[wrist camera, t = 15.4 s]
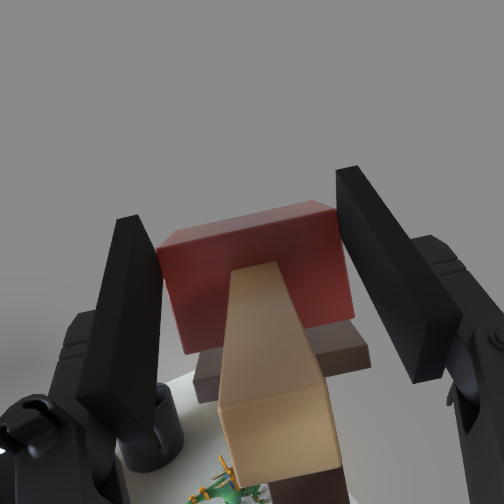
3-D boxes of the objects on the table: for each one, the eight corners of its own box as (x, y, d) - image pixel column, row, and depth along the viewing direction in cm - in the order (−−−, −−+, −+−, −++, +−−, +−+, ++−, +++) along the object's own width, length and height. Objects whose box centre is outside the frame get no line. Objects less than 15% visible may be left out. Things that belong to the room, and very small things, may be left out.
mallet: (111, 589, 6) (24, 361, 6) (197, 314, 19) (174, 230, 18) (505, 507, 6) (483, 260, 5) (329, 285, 19) (313, 199, 18)
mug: (142, 495, 50) (123, 439, 48) (118, 452, 60) (101, 404, 58) (202, 455, 55) (187, 402, 54) (170, 421, 65) (157, 375, 63)
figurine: (287, 493, 46) (273, 437, 44) (196, 551, 41) (177, 491, 39) (274, 477, 49) (262, 424, 47) (188, 530, 44) (170, 472, 42)
